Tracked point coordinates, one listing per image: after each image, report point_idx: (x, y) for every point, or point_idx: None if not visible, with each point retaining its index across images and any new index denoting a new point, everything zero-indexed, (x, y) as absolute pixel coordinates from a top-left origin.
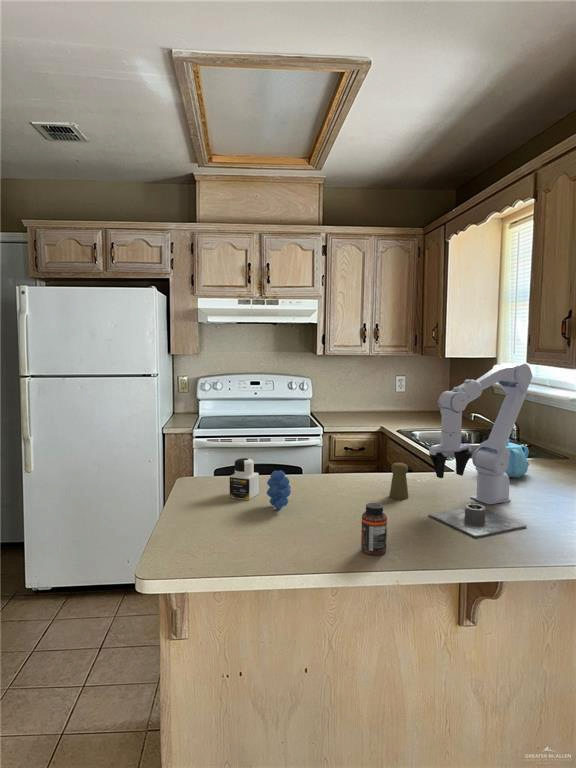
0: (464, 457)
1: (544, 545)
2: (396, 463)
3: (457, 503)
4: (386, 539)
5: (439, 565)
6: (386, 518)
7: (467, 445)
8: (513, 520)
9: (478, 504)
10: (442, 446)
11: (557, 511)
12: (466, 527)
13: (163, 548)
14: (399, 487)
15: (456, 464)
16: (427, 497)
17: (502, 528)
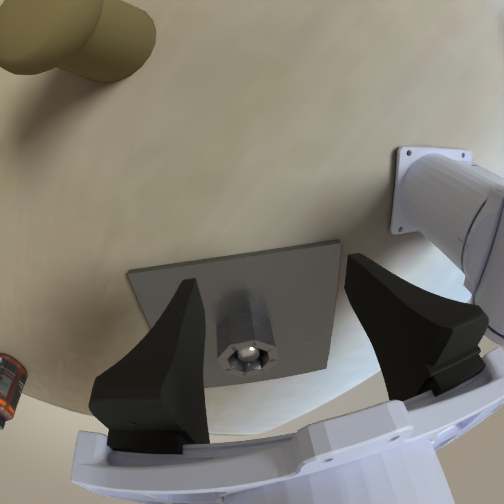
0: (391, 389)
1: (281, 408)
2: (3, 18)
3: (311, 181)
4: (22, 389)
5: None
6: (12, 417)
7: (461, 434)
8: (329, 348)
9: (274, 348)
10: (225, 501)
11: (456, 299)
12: None
13: None
14: (74, 72)
15: (379, 287)
16: (238, 71)
17: (265, 375)
